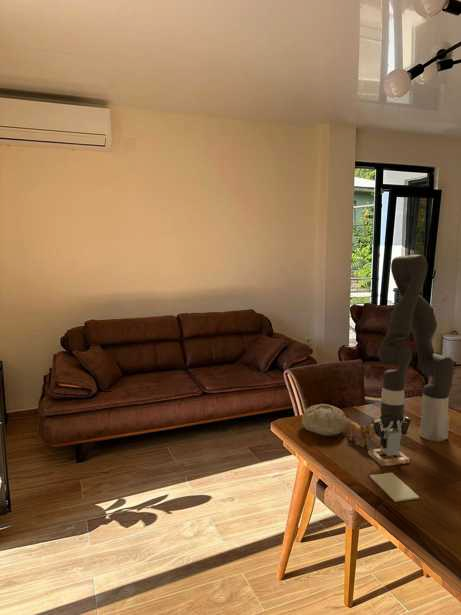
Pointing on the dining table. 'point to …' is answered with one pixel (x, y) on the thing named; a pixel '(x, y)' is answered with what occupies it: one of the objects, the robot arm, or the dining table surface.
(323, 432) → the decorative shell
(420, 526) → the dining table surface
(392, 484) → the tile
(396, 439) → the block
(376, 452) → the pocket frame
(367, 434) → the lion figurine
